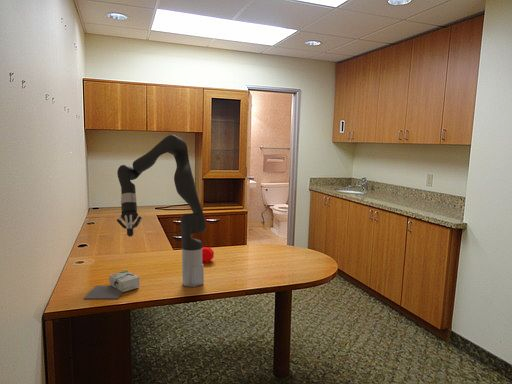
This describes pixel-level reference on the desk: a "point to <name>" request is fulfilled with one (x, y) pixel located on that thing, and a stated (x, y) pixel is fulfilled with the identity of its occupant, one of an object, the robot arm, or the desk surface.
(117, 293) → the charcoal mat
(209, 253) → the ball
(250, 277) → the desk surface
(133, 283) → the ink box
